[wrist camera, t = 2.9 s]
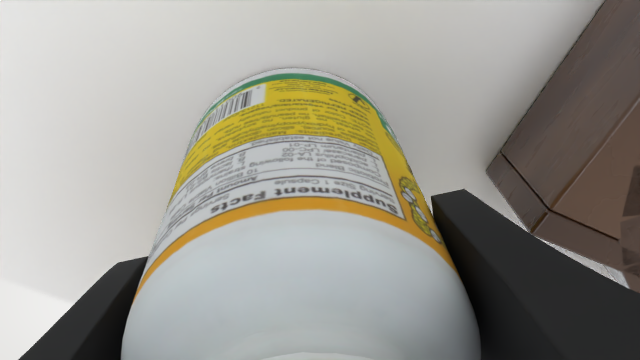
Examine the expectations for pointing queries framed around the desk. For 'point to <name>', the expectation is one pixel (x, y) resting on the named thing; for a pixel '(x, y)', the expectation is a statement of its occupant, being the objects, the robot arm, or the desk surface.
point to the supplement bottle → (298, 238)
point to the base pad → (584, 149)
